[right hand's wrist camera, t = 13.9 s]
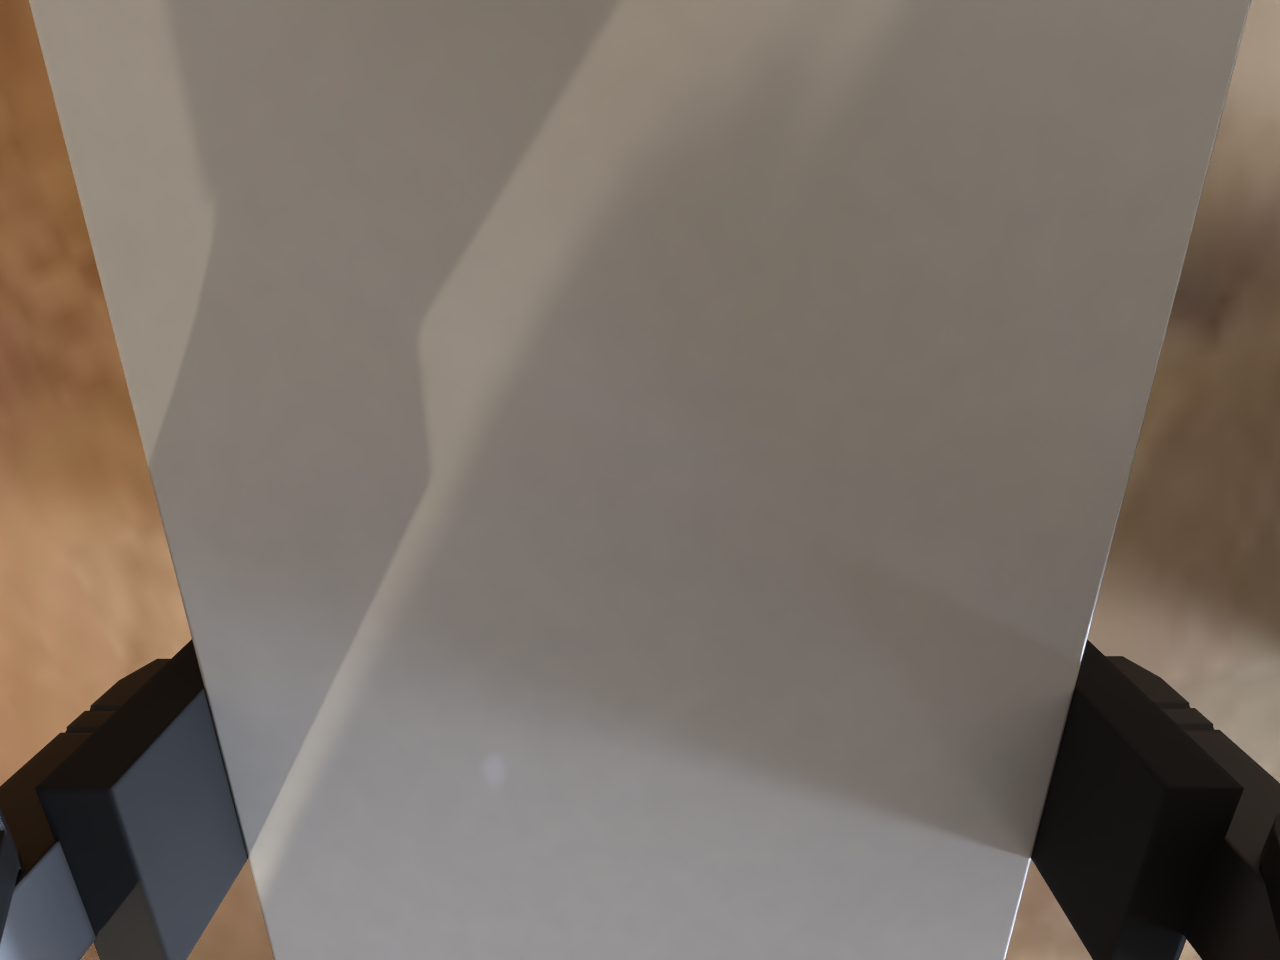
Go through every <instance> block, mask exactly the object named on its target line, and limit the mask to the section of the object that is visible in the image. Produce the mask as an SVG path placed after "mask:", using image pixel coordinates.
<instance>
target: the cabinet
mask: <svg viewBox="0 0 1280 960" xmlns="http://www.w3.org/2000/svg"><path fill="white" fill-rule="evenodd" d="M29 3H30V7H31V11H32V15H33V19H34V23H35V27H36V30H37V34H38V38H39V42H40V46H41V50H42V54H43V58H44V62H45V66H46V70H47V73H48V77H49V81H50V85H51V89H52V93H53V97H54V101H55V105H56V109H57V113H58V116H59V120H60V124H61V128H62V132H63V136H64V140H65V144H66V148H67V152H68V156H69V159H70V163H71V167H72V171H73V175H74V179H75V183H76V187H77V191H78V195H79V199H80V202H81V206H82V210H83V214H84V218H85V222H86V226H87V230H88V234H89V238H90V242H91V245H92V249H93V253H94V257H95V261H96V265H97V269H98V273H99V277H100V281H101V285H102V288H103V292H104V296H105V300H106V304H107V308H108V312H109V316H110V320H111V324H112V328H113V331H114V335H115V339H116V343H117V347H118V351H119V355H120V359H121V363H122V367H123V371H124V374H125V378H126V382H127V386H128V390H129V394H130V398H131V402H132V406H133V410H134V414H135V417H136V421H137V425H138V429H139V433H140V437H141V441H142V445H143V449H144V453H145V457H146V460H147V464H148V468H149V472H150V476H151V480H152V484H153V488H154V492H155V496H156V500H157V503H158V507H159V511H160V515H161V519H162V523H163V527H164V531H165V535H166V539H167V543H168V546H169V550H170V554H171V558H172V562H173V566H174V570H175V574H176V578H177V582H178V586H179V589H180V593H181V597H182V601H183V605H184V609H185V613H186V617H187V621H188V625H189V629H190V633H191V636H192V640H193V644H194V648H195V652H196V656H197V660H198V664H199V668H200V672H201V676H202V679H203V683H204V687H205V691H206V695H207V699H208V703H209V707H210V711H211V715H212V719H213V722H214V726H215V730H216V734H217V738H218V742H219V746H220V750H221V754H222V758H223V762H224V765H225V769H226V773H227V777H228V781H229V785H230V789H231V793H232V797H233V801H234V805H235V808H236V812H237V816H238V820H239V824H240V828H241V832H242V836H243V840H244V844H245V848H246V851H247V855H248V859H249V863H250V867H251V871H252V875H253V879H254V883H255V887H256V891H257V894H258V898H259V902H260V906H261V910H262V914H263V918H264V922H265V926H266V930H267V934H268V937H269V941H270V945H271V949H272V953H273V957H274V960H1005V957H1006V953H1007V949H1008V945H1009V942H1010V938H1011V934H1012V930H1013V926H1014V922H1015V918H1016V914H1017V910H1018V906H1019V903H1020V899H1021V895H1022V891H1023V887H1024V883H1025V879H1026V875H1027V871H1028V868H1029V864H1030V860H1031V856H1032V852H1033V848H1034V844H1035V840H1036V836H1037V832H1038V829H1039V825H1040V821H1041V817H1042V813H1043V809H1044V805H1045V801H1046V797H1047V794H1048V790H1049V786H1050V782H1051V778H1052V774H1053V770H1054V766H1055V762H1056V758H1057V755H1058V751H1059V747H1060V743H1061V739H1062V735H1063V731H1064V727H1065V723H1066V720H1067V716H1068V712H1069V708H1070V704H1071V700H1072V696H1073V692H1074V688H1075V684H1076V681H1077V677H1078V673H1079V669H1080V665H1081V661H1082V657H1083V653H1084V649H1085V646H1086V642H1087V638H1088V634H1089V630H1090V626H1091V622H1092V618H1093V614H1094V610H1095V607H1096V603H1097V599H1098V595H1099V591H1100V587H1101V583H1102V579H1103V575H1104V572H1105V568H1106V564H1107V560H1108V556H1109V552H1110V548H1111V544H1112V540H1113V537H1114V533H1115V529H1116V525H1117V521H1118V517H1119V513H1120V509H1121V505H1122V501H1123V498H1124V494H1125V490H1126V486H1127V482H1128V478H1129V474H1130V470H1131V466H1132V463H1133V459H1134V455H1135V451H1136V447H1137V443H1138V439H1139V435H1140V431H1141V427H1142V424H1143V420H1144V416H1145V412H1146V408H1147V404H1148V400H1149V396H1150V392H1151V389H1152V385H1153V381H1154V377H1155V373H1156V369H1157V365H1158V361H1159V357H1160V353H1161V350H1162V346H1163V342H1164V338H1165V334H1166V330H1167V326H1168V322H1169V318H1170V315H1171V311H1172V307H1173V303H1174V299H1175V295H1176V291H1177V287H1178V283H1179V279H1180V276H1181V272H1182V268H1183V264H1184V260H1185V256H1186V252H1187V248H1188V244H1189V241H1190V237H1191V233H1192V229H1193V225H1194V221H1195V217H1196V213H1197V209H1198V205H1199V202H1200V198H1201V194H1202V190H1203V186H1204V182H1205V178H1206V174H1207V170H1208V167H1209V163H1210V159H1211V155H1212V151H1213V147H1214V143H1215V139H1216V135H1217V131H1218V128H1219V124H1220V120H1221V116H1222V112H1223V108H1224V104H1225V100H1226V96H1227V93H1228V89H1229V85H1230V81H1231V77H1232V73H1233V69H1234V65H1235V61H1236V57H1237V54H1238V50H1239V46H1240V42H1241V38H1242V34H1243V30H1244V26H1245V22H1246V19H1247V15H1248V11H1249V7H1250V3H1251V0H29Z"/></svg>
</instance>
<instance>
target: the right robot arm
mask: <svg viewBox="0 0 1280 960" xmlns="http://www.w3.org/2000/svg"><path fill="white" fill-rule="evenodd" d="M247 859H248V855H247V851H246V848H245V844H244V840H243V836H242V832H241V828H240V824H239V820H238V816H237V812H236V808H235V805H234V801H233V797H232V793H231V789H230V785H229V781H228V777H227V773H226V769H225V765H224V762H223V758H222V754H221V750H220V746H219V742H218V738H217V734H216V730H215V726H214V722H213V719H212V715H211V711H210V707H209V703H208V699H207V695H206V691H205V687H204V683H203V679H202V676H201V672H200V668H199V664H198V660H197V656H196V652H195V648H194V644H193V640H191V641H190V642H189V643H188V644H187V645H185V646H184V647H183V648H182V649H181V650H180V651H179V652H178V653H177V654H176V655H175V656H174V657H173V658H172V659H156V660H154V661H153V662H151V663H149V664H147V665H146V666H144V667H142V668H140V669H138V670H137V671H135V672H133V673H131V674H130V675H128V676H126V677H124V678H123V679H121V680H119V681H118V682H117V683H116V684H115V685H113V686H112V687H111V688H110V689H109V690H108V691H107V692H106V693H104V694H103V695H102V696H101V697H100V698H99V699H98V700H97V701H96V702H94V703H93V704H92V705H91V709H90V711H84V712H83V713H82V714H81V715H80V716H79V717H78V718H76V719H75V720H74V721H73V722H72V723H71V724H70V725H69V726H68V727H67V730H66V732H65V733H60V734H59V735H57V736H56V737H55V738H54V739H53V740H52V741H51V742H50V743H48V744H47V745H46V746H45V747H44V748H43V749H42V750H41V751H40V752H38V753H37V754H36V755H35V756H34V757H33V758H32V759H31V760H29V761H28V762H27V763H26V764H25V765H24V766H23V767H22V768H20V769H19V770H18V771H17V772H16V773H15V774H14V775H13V776H12V777H10V778H9V779H8V780H7V781H6V782H5V783H4V784H3V785H1V786H0V960H80V959H81V958H82V956H83V955H84V954H85V952H86V951H87V950H88V948H89V947H90V946H91V944H92V943H93V942H94V944H95V947H96V950H97V952H98V955H99V958H100V960H186V959H187V957H188V956H189V954H190V953H191V951H192V949H193V948H194V946H195V944H196V943H197V941H198V939H199V938H200V936H201V934H202V933H203V931H204V930H205V928H206V926H207V925H208V923H209V921H210V920H211V918H212V916H213V915H214V913H215V911H216V910H217V908H218V907H219V905H220V903H221V902H222V900H223V898H224V897H225V895H226V893H227V892H228V890H229V888H230V887H231V885H232V884H233V882H234V880H235V879H236V877H237V875H238V874H239V872H240V870H241V869H242V867H243V866H244V864H245V862H246V861H247ZM1031 859H1032V860H1033V862H1034V863H1035V865H1036V867H1037V868H1038V870H1039V872H1040V873H1041V875H1042V877H1043V878H1044V880H1045V882H1046V883H1047V885H1048V886H1049V888H1050V890H1051V891H1052V893H1053V895H1054V896H1055V898H1056V900H1057V901H1058V903H1059V905H1060V906H1061V908H1062V909H1063V911H1064V913H1065V914H1066V916H1067V918H1068V919H1069V921H1070V923H1071V924H1072V926H1073V928H1074V929H1075V931H1076V932H1077V934H1078V936H1079V937H1080V939H1081V941H1082V942H1083V944H1084V946H1085V947H1086V949H1087V951H1088V952H1089V954H1090V955H1091V957H1092V959H1093V960H1179V957H1180V955H1181V952H1182V950H1183V947H1184V944H1185V942H1186V939H1187V940H1188V941H1189V943H1190V944H1191V945H1192V947H1193V948H1194V949H1195V951H1196V952H1197V953H1198V955H1199V956H1200V957H1201V959H1202V960H1280V783H1279V782H1278V781H1276V780H1275V779H1274V778H1273V777H1272V776H1271V775H1270V774H1269V773H1267V772H1266V771H1265V770H1264V769H1263V768H1262V767H1261V766H1260V765H1258V764H1257V763H1256V762H1255V761H1254V760H1253V759H1252V758H1250V757H1249V756H1248V755H1247V754H1246V753H1245V752H1244V751H1243V750H1241V749H1240V748H1239V747H1238V746H1237V745H1236V744H1235V743H1234V742H1232V741H1231V740H1230V739H1229V738H1228V737H1227V736H1226V735H1225V734H1223V733H1222V732H1221V731H1220V730H1214V728H1213V724H1212V723H1211V722H1210V721H1209V720H1208V719H1207V718H1205V717H1204V716H1203V715H1202V714H1201V713H1200V712H1199V711H1198V710H1196V709H1195V708H1190V706H1189V702H1187V701H1186V700H1185V699H1184V698H1183V697H1182V696H1181V695H1179V694H1178V693H1177V692H1176V691H1175V690H1174V689H1173V688H1172V687H1170V686H1169V685H1168V684H1167V683H1166V682H1165V681H1164V680H1163V679H1161V678H1160V677H1158V676H1157V675H1155V674H1153V673H1151V672H1149V671H1148V670H1146V669H1144V668H1142V667H1141V666H1139V665H1137V664H1135V663H1133V662H1132V661H1130V660H1128V659H1126V658H1125V657H1123V656H1104V655H1103V654H1102V653H1101V652H1100V651H1099V650H1098V649H1097V648H1096V647H1095V646H1094V645H1093V644H1092V643H1091V642H1089V641H1088V640H1087V642H1086V646H1085V649H1084V653H1083V657H1082V661H1081V665H1080V669H1079V673H1078V677H1077V681H1076V684H1075V688H1074V692H1073V696H1072V700H1071V704H1070V708H1069V712H1068V716H1067V720H1066V723H1065V727H1064V731H1063V735H1062V739H1061V743H1060V747H1059V751H1058V755H1057V758H1056V762H1055V766H1054V770H1053V774H1052V778H1051V782H1050V786H1049V790H1048V794H1047V797H1046V801H1045V805H1044V809H1043V813H1042V817H1041V821H1040V825H1039V829H1038V832H1037V836H1036V840H1035V844H1034V848H1033V852H1032V856H1031Z"/></svg>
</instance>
